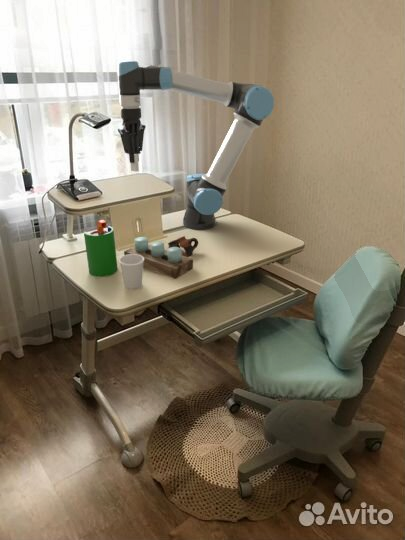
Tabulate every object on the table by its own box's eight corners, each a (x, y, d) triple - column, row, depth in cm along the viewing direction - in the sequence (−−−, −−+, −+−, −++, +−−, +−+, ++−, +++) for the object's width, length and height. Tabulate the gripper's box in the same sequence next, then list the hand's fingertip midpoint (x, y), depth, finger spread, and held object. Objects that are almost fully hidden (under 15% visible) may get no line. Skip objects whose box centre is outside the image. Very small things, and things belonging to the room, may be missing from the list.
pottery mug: (177, 262, 165) (168, 243, 164) (171, 263, 174) (163, 244, 173) (204, 250, 168) (196, 230, 167) (198, 251, 177) (190, 233, 176)
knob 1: (142, 254, 170) (140, 235, 166) (151, 258, 167) (150, 238, 163) (133, 259, 166) (131, 240, 162) (142, 262, 163) (141, 243, 160)
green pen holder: (107, 262, 163) (102, 212, 154) (123, 269, 158) (119, 218, 149) (85, 272, 156) (78, 220, 147) (101, 279, 151) (95, 226, 142)
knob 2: (157, 260, 165) (156, 240, 162) (167, 263, 163) (167, 243, 159) (148, 264, 162) (147, 245, 158) (158, 268, 159) (158, 248, 156)
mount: (142, 252, 172) (142, 242, 171) (192, 268, 159) (192, 258, 158) (124, 260, 165) (124, 251, 163) (175, 278, 152) (175, 268, 150)
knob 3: (173, 265, 161) (173, 245, 158) (184, 269, 159) (184, 249, 155) (165, 270, 158) (164, 250, 154) (175, 274, 155) (175, 253, 151)
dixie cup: (128, 294, 143) (125, 266, 138) (116, 284, 149) (114, 257, 144) (150, 286, 147) (148, 260, 142) (138, 277, 153) (136, 251, 148)
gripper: (125, 109, 154) (130, 175, 164) (149, 106, 163) (153, 168, 174) (110, 108, 158) (116, 172, 168) (135, 104, 167) (139, 166, 178)
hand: (134, 170), depth 171 cm, fingers closed
